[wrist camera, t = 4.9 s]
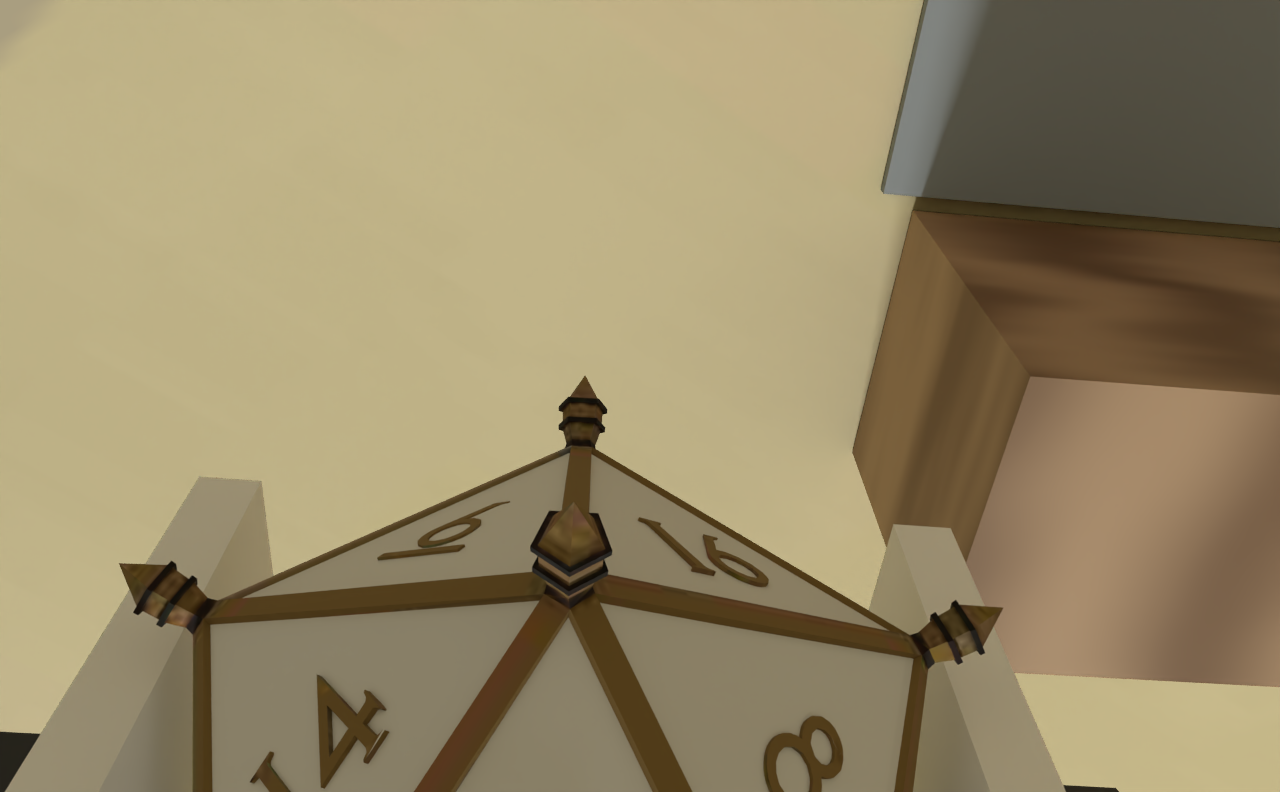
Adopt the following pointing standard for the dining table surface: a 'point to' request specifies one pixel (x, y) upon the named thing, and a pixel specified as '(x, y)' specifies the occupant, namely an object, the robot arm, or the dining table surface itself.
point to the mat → (1095, 107)
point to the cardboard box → (1090, 439)
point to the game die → (552, 652)
